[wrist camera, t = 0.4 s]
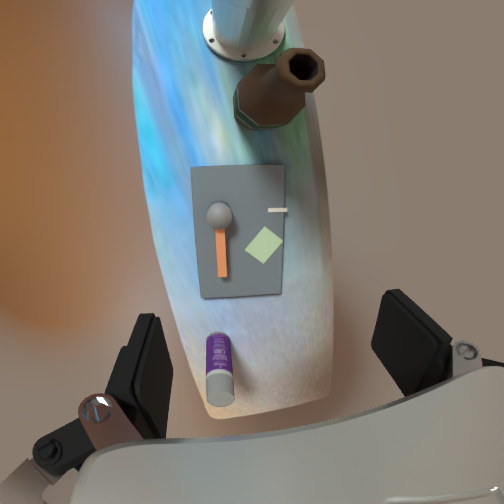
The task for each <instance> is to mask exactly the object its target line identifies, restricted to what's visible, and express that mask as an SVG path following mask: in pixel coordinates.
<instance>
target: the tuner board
mask: <svg viewBox="0 0 504 504" xmlns="http://www.w3.org/2000/svg"><path fill="white" fill-rule="evenodd" d="M284 180H285V165H273V164H269V165H222V166H202V167H191V185H192V202H193V217H194V231H195V243H196V254H197V265H198V275H199V285H200V294H201V298H214V297H232V296H248V295H263V294H276V293H281V277H282V253H283V224H284V212H287V208H284ZM216 201H223V202H226V203H227V204H228V205H229V206H230V208H231V213H232V221H231V223H230V225H229V226H228V227H226V228H225V246H226V267H227V277H218V267H217V251H216V234H215V228H213V227H211V226H210V225H209V223H208V221H207V211H208V208H209V206H210V205H211V204H212V203H213V202H216Z"/></svg>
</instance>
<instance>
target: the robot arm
mask: <svg viewBox="0 0 504 504" xmlns="http://www.w3.org/2000/svg"><path fill="white" fill-rule="evenodd" d="M294 1H295V0H212V8H211V9H210V10H209V11H208V13H207V14H206V16H205V18H204V20H203V25H202V32H203V37H204V39H205V42H206V44H207V45H208V46H209V47H210V49H212V50H213V51H214V52H215V53H217V54H218V55H220V56H222V57H224V58H227V59H230V60H235V61H254V60H258V59H261V58H264V57H266V56H268V55H269V54H271V53H272V52H274V51H275V50H276V49H277V48H278V46H279V45H280V44H281V42H282V40H283V37H284V33H285V27H284V23H283V19H284V17H285V15H286V14H287V12H288V10H289V9H290V7H291V6H292V4H293V2H294ZM211 41H213V43H210V42H211ZM273 42H275V43H276V44H274V43H273ZM242 56H245V58H243V57H242ZM451 341H452V337H450V335H449V334H448V333H447V332H446V331H444V330H443V329H442V328H441V327H440V326H439V325H438V324H437V323H436V322H435V321H434V320H433V319H432V318H431V317H429V315H427V314H426V313H425V312H424V311H423V310H422V309H421V308H420V307H419V306H418V305H416V304H415V303H414V302H413V301H412V300H411V299H410V298H409V297H408V296H407V295H405V294H404V293H403V292H402V291H401V290H400V289H393V290H387V291H386V292H385V294H384V295H383V296H382V300H381V304H380V309H379V313H378V317H377V321H376V326H375V330H374V334H373V337H372V341H371V347H372V349H373V351H374V352H375V353H376V355H377V357H378V358H379V359H380V361H381V362H382V364H383V365H384V367H385V368H386V369H387V371H388V372H389V374H390V375H391V377H392V378H393V380H394V381H395V382H396V384H397V386H398V387H399V389H400V390H401V391H402V393H403V394H404V396H405V397H404V398H401V399H399V400H396V401H393V402H391V403H387V404H385V405H382V406H378V407H375V408H372V409H369V410H366V411H363V412H359V413H356V414H352V415H349V416H345V417H341V418H337V419H333V420H329V421H325V422H321V423H316V424H311V425H306V426H301V427H295V428H290V429H284V430H278V431H271V432H263V433H255V434H246V435H235V436H222V437H206V438H169V439H166V430H167V420H168V411H169V402H170V394H171V386H172V379H173V367H172V363H171V359H170V356H169V352H168V348H167V344H166V341H165V337H164V333H163V329H162V325H161V321H160V318H159V317H155V315H154V314H153V313H147V314H140V315H139V316H138V319H137V322H136V324H135V326H134V329H133V332H132V334H131V337H130V339H129V342H128V345H127V346H123V347H122V348H121V350H120V352H119V355H118V357H117V360H116V363H115V365H114V368H113V371H112V374H111V376H110V379H109V382H108V385H107V387H106V390H105V393H104V394H103V393H98V394H93V395H90V396H88V397H86V398H85V399H84V400H83V401H82V402H81V403H80V406H79V408H78V415H79V418H77V419H76V420H74V421H72V422H70V423H68V424H66V425H65V426H63V427H61V428H59V429H57V430H55V431H53V432H51V433H49V434H47V435H45V436H44V437H42V438H40V439H39V440H38V441H37V442H36V443H35V444H34V447H33V458H32V459H31V460H29V459H28V458H27V459H26V460H25V461H23V462H22V464H20V465H19V466H18V467H17V468H16V469H15V470H14V471H13V472H12V473H11V474H10V475H9V476H8V477H7V478H6V479H5V480H4V481H3V482H2V483H1V484H0V500H1V502H2V503H3V504H69V503H70V504H504V363H501V362H496V361H493V360H488V359H484V358H481V353H480V350H479V349H478V347H477V346H476V345H474V344H473V343H471V342H468V341H463V340H461V341H457V342H455V343H454V345H453V346H451V345H450V343H451Z"/></svg>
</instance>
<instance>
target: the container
mask: <svg viewBox="0 0 504 504" xmlns="http://www.w3.org/2000/svg"><path fill="white" fill-rule="evenodd" d="M206 395H207V402H208V403H209V404H210V405H212V406H216V407H226V406H229V405H231V404H232V403H233V402H234V400H235V398H234V382H233V369H232V359H231V348H230V339H229V337H228V336H227V335H226V334H225V333H222V332H214V333H211V334H210V335H209V336H208V337H207V340H206Z"/></svg>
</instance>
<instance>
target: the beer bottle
mask: <svg viewBox="0 0 504 504" xmlns="http://www.w3.org/2000/svg"><path fill="white" fill-rule="evenodd" d="M275 62H276V64H257V65H256V66H255V67H254V68H253V69H252V70H251V71H250V72H249V73H248V74H247V75H246V76H245V77H244V78H243V79H242V80H241V81H240V82H239V83H238V84H237V87H236V90H235V93H234V96H233V105H234V118H235V119H237V120H238V121H239V122H240V123H241V124H243V125H244V126H245V127H246V128H248V129H249V130H258V129H272V128H276V127H280V126H284V125H286V124H288V123H289V122H290V121H291V120H292V119H293V118H294V117H295V116H296V115H297V114H298V113H299V112H300V111H301V110H302V109H303V107H304V106H305V93H304V92H311V93H312V92H313V91H314V90H315V89H316V88H317V87H318V86H319V85H320V84H321V83H322V82H323V81H324V80H325V68H324V61H323V60H322V59H321V58H320V57H319V56H318V55H317V54H316V53H314V52H313V51H312V50H311V49H303V48H289V49H287V50H286V51H285V52H284V53H283V54H282V55H281V56H280V57H279V58H277V59H276V60H275Z"/></svg>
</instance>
